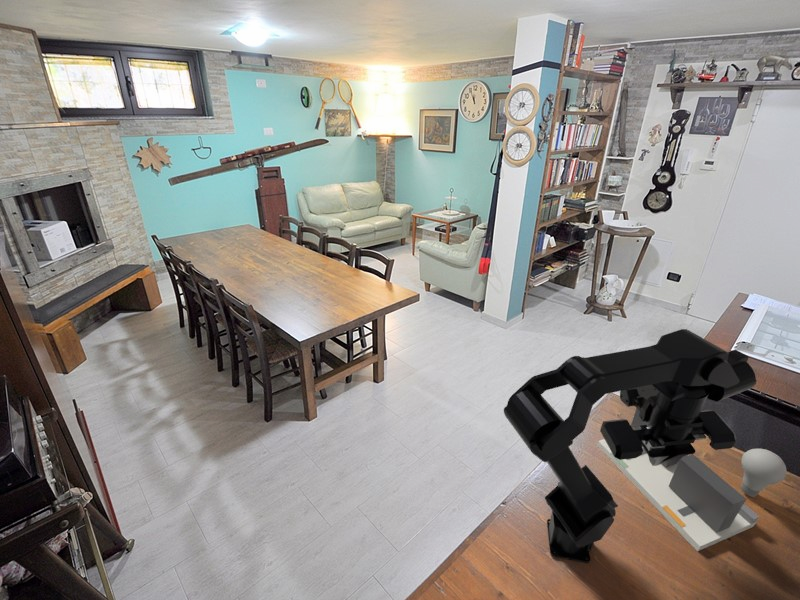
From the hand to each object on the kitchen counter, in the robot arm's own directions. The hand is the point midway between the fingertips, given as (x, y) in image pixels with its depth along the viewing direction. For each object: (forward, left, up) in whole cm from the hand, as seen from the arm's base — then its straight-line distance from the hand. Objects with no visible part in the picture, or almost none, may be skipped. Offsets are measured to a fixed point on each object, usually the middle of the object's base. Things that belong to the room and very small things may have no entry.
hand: (653, 463), depth 69 cm
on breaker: (+6, +14, -11) cm, 18 cm away
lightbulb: (+21, +7, -13) cm, 26 cm away
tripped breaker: (+10, +1, -11) cm, 15 cm away
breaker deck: (+7, +7, -12) cm, 16 cm away
